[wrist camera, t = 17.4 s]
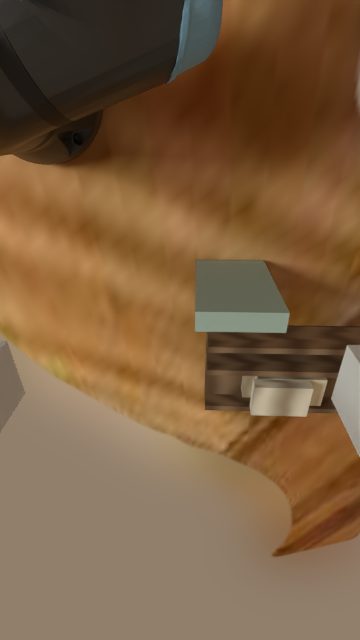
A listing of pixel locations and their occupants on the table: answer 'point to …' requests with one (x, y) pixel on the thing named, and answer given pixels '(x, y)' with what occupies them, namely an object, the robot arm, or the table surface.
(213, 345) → the rack
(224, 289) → the grey-green flat block
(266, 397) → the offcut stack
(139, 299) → the table surface
